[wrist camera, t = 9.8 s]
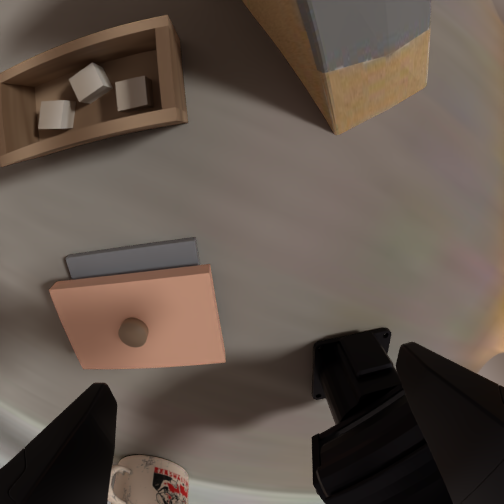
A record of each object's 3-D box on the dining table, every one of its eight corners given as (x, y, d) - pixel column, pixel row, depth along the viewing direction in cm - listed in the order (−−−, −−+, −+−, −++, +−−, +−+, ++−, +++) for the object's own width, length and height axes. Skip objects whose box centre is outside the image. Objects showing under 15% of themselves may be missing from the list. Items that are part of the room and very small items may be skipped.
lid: (210, 258, 19) (208, 278, 17) (224, 343, 22) (225, 369, 19) (61, 276, 19) (44, 295, 16) (90, 352, 21) (80, 375, 19)
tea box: (180, 39, 15) (167, 14, 10) (188, 122, 17) (177, 120, 12) (33, 82, 14) (-7, 77, 10) (40, 156, 16) (1, 167, 12)
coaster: (217, 351, 23) (217, 356, 22) (107, 358, 22) (105, 363, 22) (195, 237, 19) (194, 240, 19) (69, 254, 19) (65, 258, 18)
